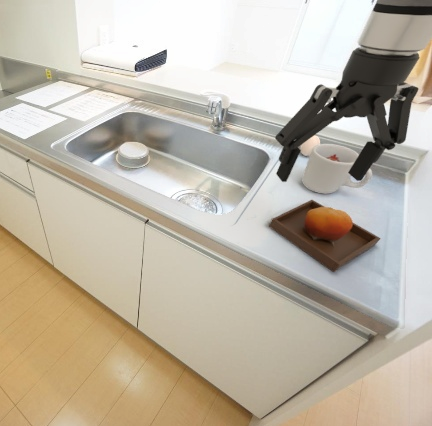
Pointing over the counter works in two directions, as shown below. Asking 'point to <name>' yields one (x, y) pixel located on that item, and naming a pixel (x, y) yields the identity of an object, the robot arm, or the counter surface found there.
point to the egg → (309, 145)
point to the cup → (331, 169)
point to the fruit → (327, 223)
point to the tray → (322, 249)
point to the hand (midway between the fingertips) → (317, 177)
